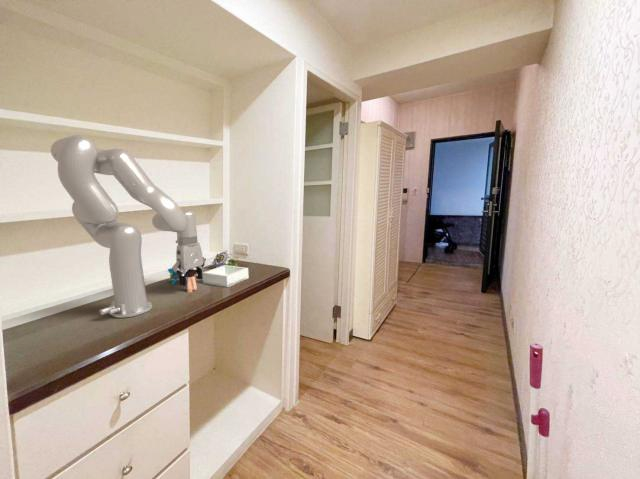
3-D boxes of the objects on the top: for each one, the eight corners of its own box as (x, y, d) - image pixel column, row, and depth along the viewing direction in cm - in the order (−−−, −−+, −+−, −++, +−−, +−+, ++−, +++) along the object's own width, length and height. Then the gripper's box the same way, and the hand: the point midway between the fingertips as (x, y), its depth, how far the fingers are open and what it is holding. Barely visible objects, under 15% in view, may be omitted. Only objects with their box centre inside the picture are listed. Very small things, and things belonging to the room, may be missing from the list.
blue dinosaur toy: (194, 278, 139) (176, 267, 133) (187, 290, 136) (168, 278, 130) (181, 277, 146) (164, 266, 140) (174, 288, 143) (156, 277, 137)
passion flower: (220, 280, 159) (206, 262, 158) (232, 271, 168) (219, 254, 168) (232, 270, 154) (218, 252, 153) (244, 261, 163) (230, 244, 162)
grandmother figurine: (191, 293, 124) (188, 263, 122) (182, 293, 125) (179, 263, 123) (201, 287, 132) (199, 259, 129) (193, 287, 132) (191, 259, 130)
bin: (227, 287, 131) (226, 276, 130) (203, 283, 137) (202, 272, 136) (248, 278, 144) (248, 267, 143) (225, 274, 150) (224, 265, 149)
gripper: (175, 245, 115) (180, 289, 118) (210, 237, 130) (213, 277, 134) (162, 243, 118) (167, 286, 121) (197, 236, 134) (201, 275, 137)
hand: (191, 281), depth 127 cm, fingers closed on grandmother figurine, 7 cm apart
